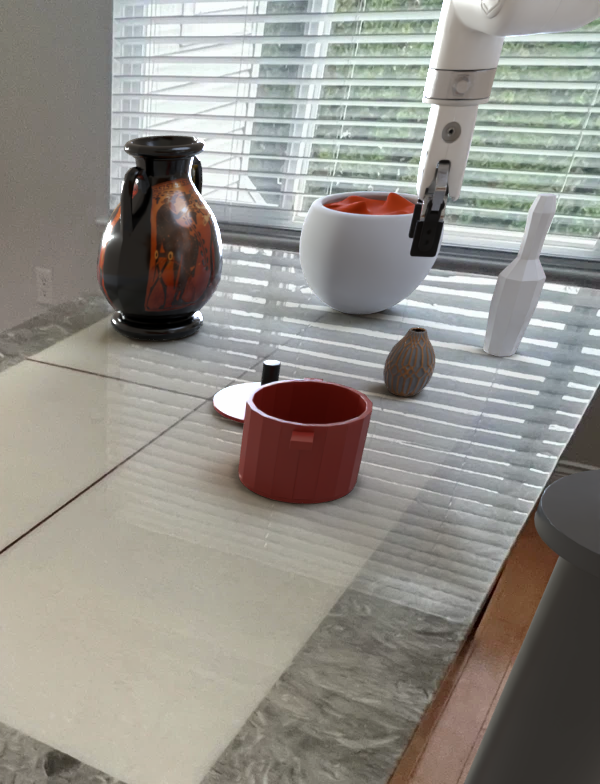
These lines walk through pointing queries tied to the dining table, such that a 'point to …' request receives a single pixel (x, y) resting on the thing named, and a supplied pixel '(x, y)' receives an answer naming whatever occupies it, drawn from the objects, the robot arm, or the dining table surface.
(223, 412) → the lid
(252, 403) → the enamel pot
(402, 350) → the vase
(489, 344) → the low poly bottle
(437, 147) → the robot arm
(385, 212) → the pot
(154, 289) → the amphora vase
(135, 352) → the dining table surface
